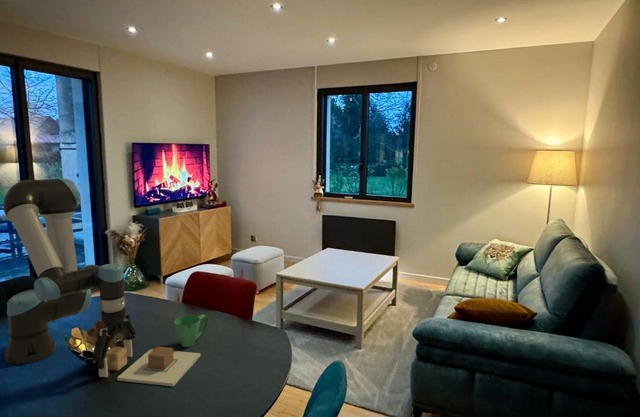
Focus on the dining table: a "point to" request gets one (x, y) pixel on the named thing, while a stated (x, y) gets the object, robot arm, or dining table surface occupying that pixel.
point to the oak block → (116, 358)
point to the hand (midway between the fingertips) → (116, 366)
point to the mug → (189, 328)
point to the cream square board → (160, 367)
